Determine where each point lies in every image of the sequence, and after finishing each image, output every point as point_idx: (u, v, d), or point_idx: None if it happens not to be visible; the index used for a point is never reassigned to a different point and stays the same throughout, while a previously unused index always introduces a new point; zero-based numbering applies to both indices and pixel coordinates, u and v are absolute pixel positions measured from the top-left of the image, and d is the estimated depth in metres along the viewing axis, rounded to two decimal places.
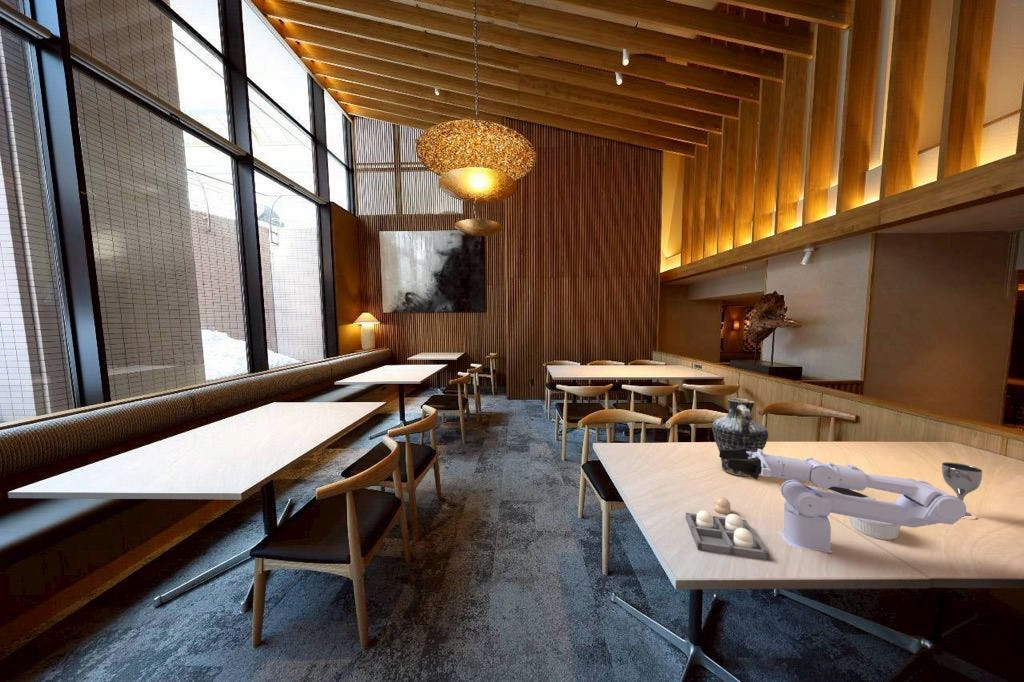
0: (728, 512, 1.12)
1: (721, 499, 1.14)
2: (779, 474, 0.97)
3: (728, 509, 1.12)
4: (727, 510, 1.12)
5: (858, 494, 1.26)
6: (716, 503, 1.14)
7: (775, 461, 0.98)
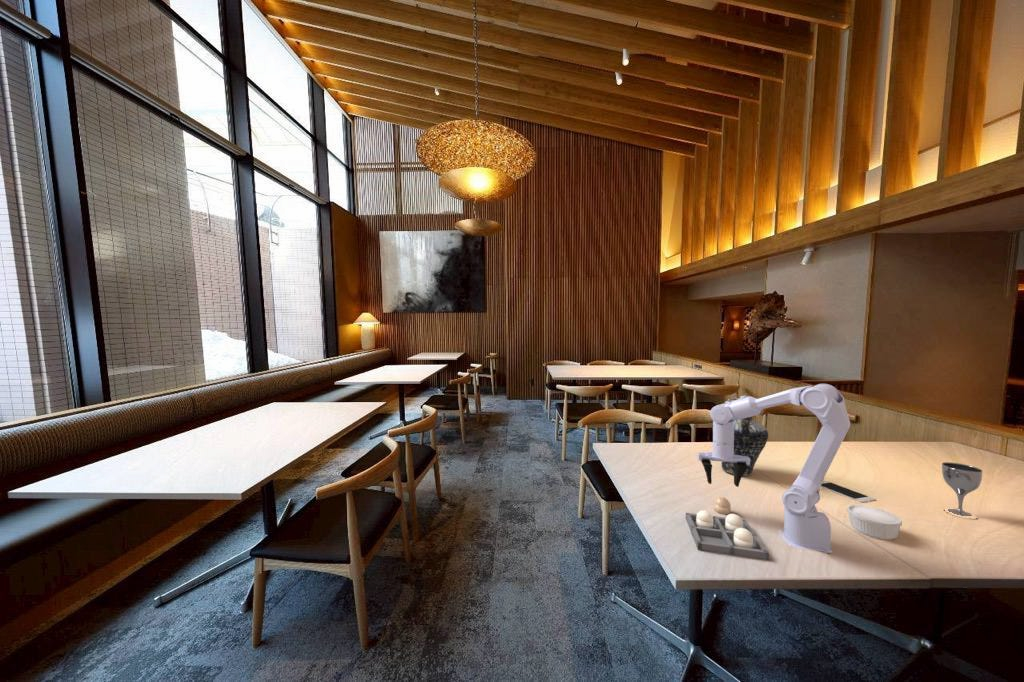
0: (728, 512, 1.12)
1: (721, 499, 1.14)
2: (715, 444, 1.13)
3: (728, 509, 1.12)
4: (727, 510, 1.12)
5: (858, 494, 1.26)
6: (716, 503, 1.14)
7: None
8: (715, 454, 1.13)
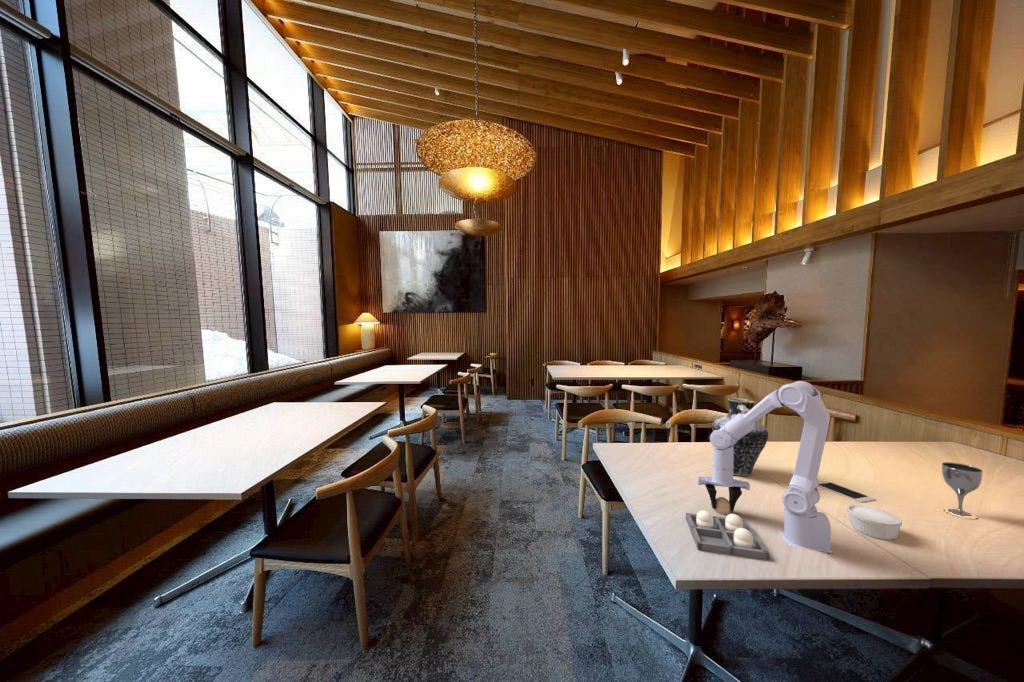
0: (728, 512, 1.12)
1: (721, 499, 1.14)
2: (715, 469, 1.13)
3: (728, 509, 1.12)
4: (727, 510, 1.12)
5: (858, 494, 1.26)
6: (716, 503, 1.14)
7: None
8: (715, 479, 1.14)
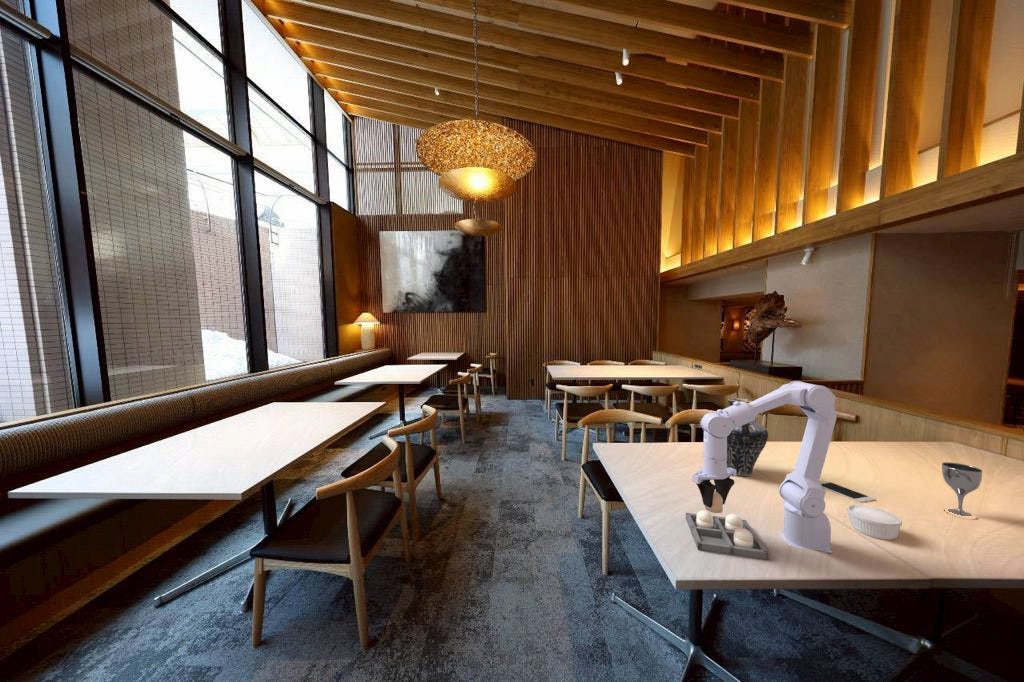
0: (722, 506, 1.00)
1: (714, 494, 1.00)
2: (712, 461, 0.98)
3: (722, 503, 1.00)
4: (722, 504, 0.99)
5: (858, 494, 1.26)
6: None
7: (703, 461, 1.02)
8: (712, 473, 0.99)
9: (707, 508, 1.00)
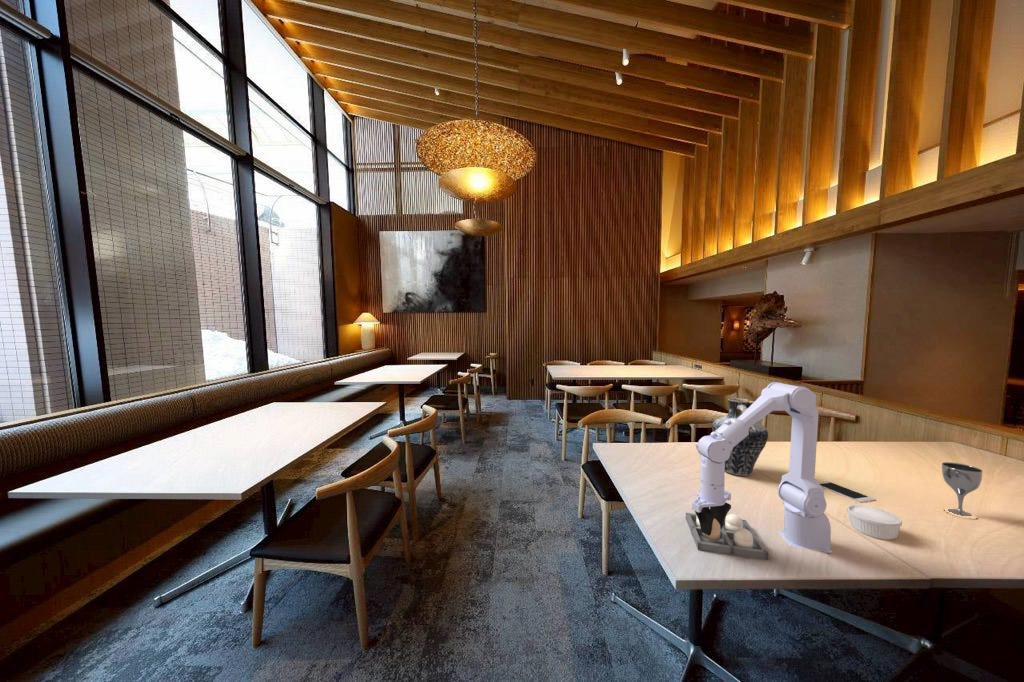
0: (720, 533, 0.97)
1: None
2: (711, 487, 0.95)
3: (720, 529, 0.97)
4: (720, 531, 0.96)
5: (858, 494, 1.26)
6: None
7: (700, 486, 0.98)
8: (711, 499, 0.95)
9: (705, 536, 0.97)
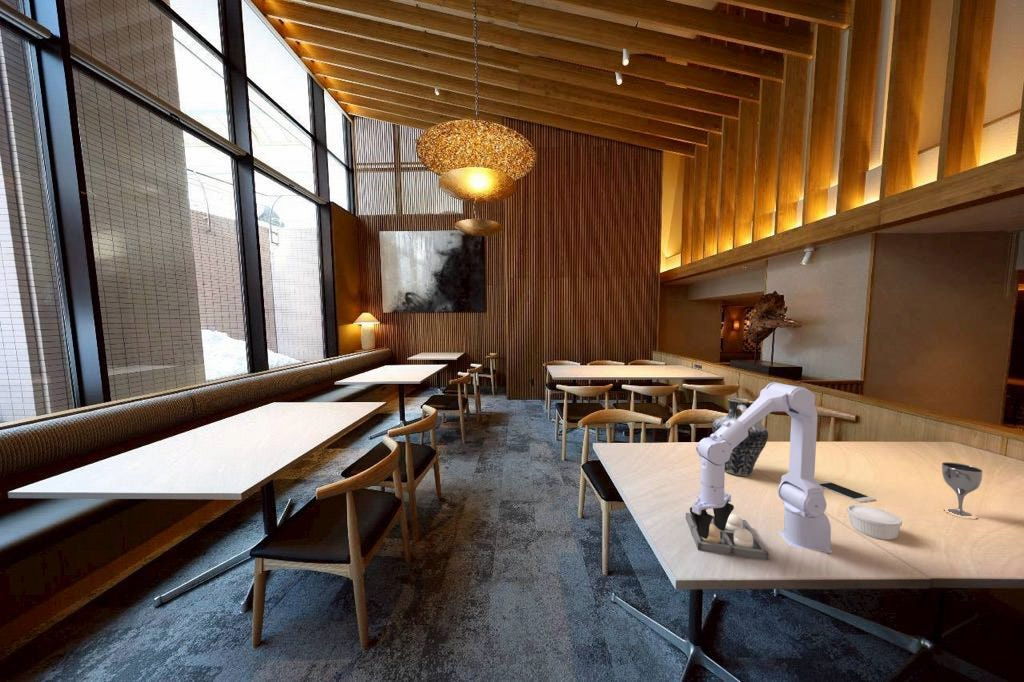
0: None
1: (712, 527, 0.97)
2: (711, 489, 0.95)
3: None
4: None
5: (858, 494, 1.26)
6: (709, 534, 0.96)
7: (700, 488, 0.98)
8: (711, 501, 0.95)
9: None
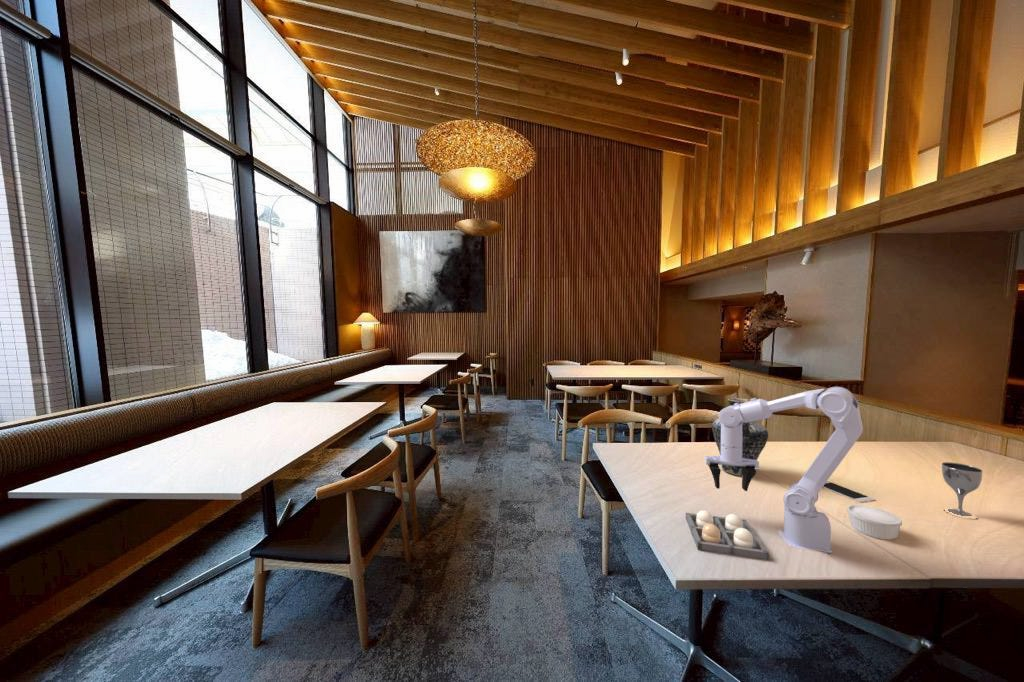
0: None
1: (712, 527, 0.97)
2: (723, 447, 1.10)
3: None
4: None
5: (858, 494, 1.26)
6: (709, 534, 0.96)
7: None
8: (723, 458, 1.10)
9: None
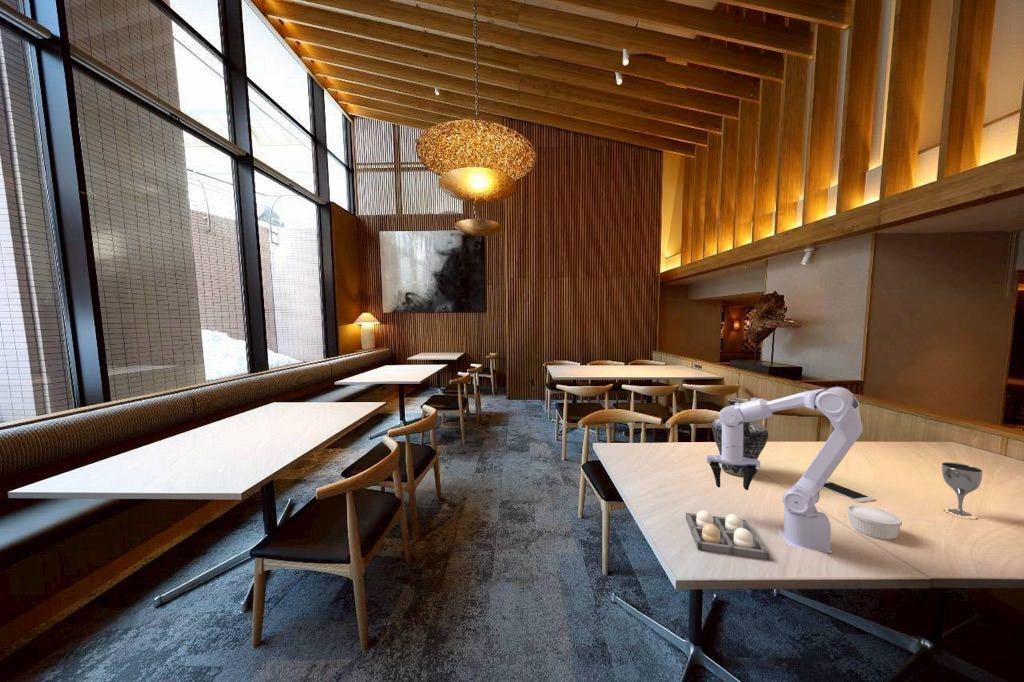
0: None
1: (713, 527, 0.97)
2: (724, 446, 1.11)
3: None
4: None
5: (857, 494, 1.26)
6: (709, 534, 0.96)
7: None
8: (724, 457, 1.11)
9: None
